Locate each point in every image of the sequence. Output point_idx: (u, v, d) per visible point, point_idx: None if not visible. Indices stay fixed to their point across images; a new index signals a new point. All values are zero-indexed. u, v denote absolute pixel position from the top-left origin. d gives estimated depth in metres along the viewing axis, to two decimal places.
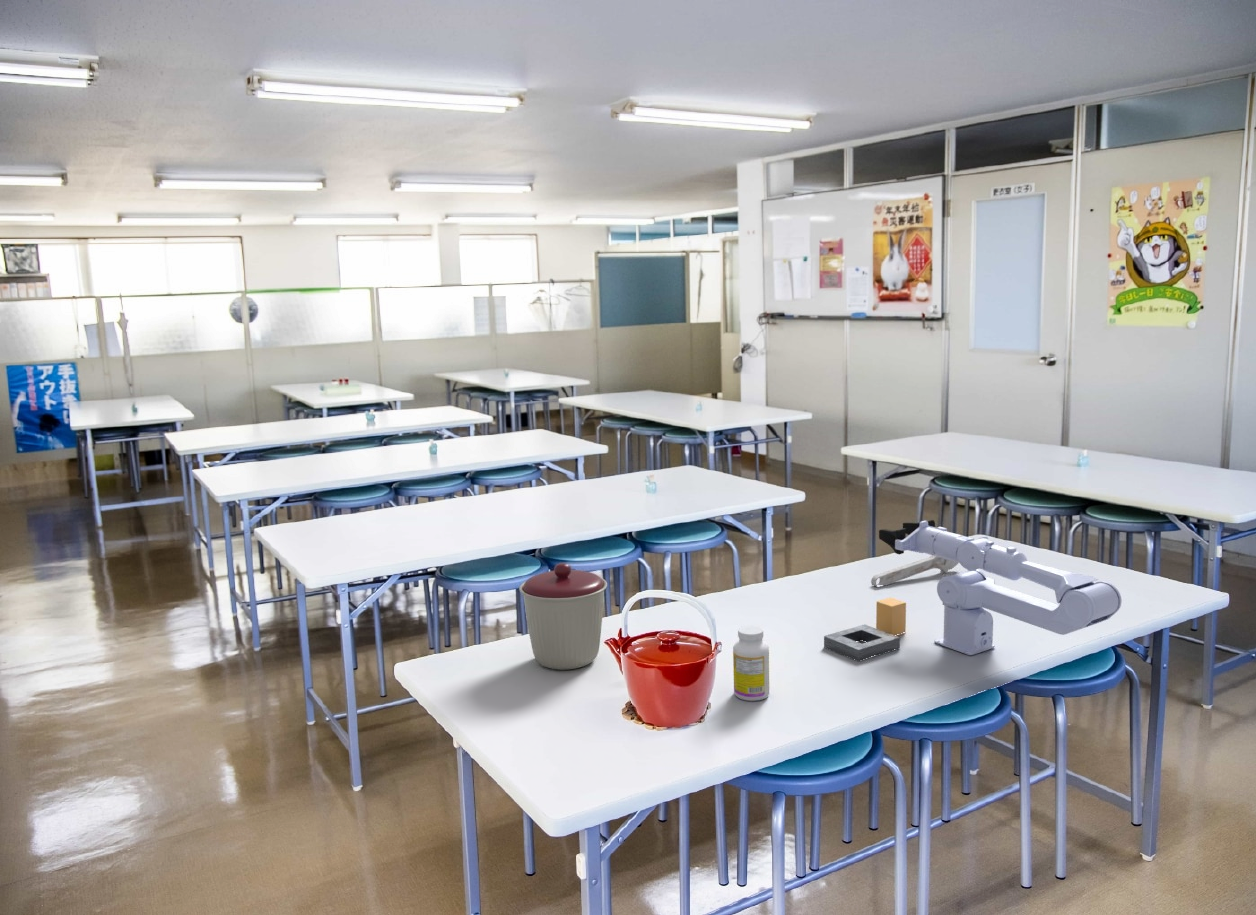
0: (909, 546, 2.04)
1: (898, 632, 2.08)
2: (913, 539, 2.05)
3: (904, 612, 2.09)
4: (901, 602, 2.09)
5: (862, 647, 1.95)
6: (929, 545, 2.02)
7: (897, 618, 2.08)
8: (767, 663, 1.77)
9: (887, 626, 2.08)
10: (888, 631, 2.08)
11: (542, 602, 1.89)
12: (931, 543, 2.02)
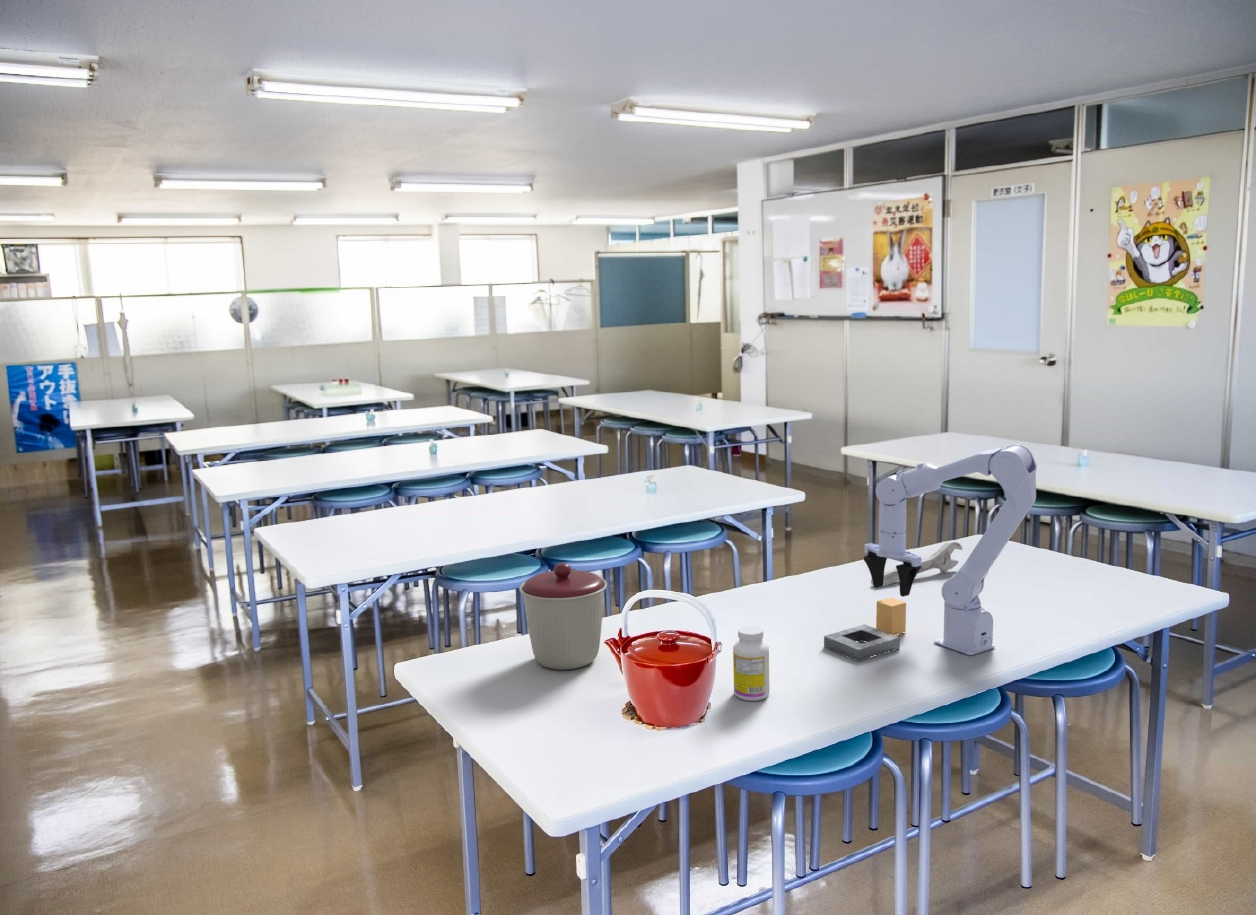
0: None
1: (898, 632, 2.08)
2: (901, 555, 2.04)
3: (904, 612, 2.09)
4: (901, 602, 2.09)
5: (862, 647, 1.95)
6: (902, 536, 2.04)
7: (897, 618, 2.08)
8: (767, 663, 1.77)
9: (887, 626, 2.08)
10: (888, 631, 2.08)
11: (542, 602, 1.89)
12: (900, 535, 2.04)
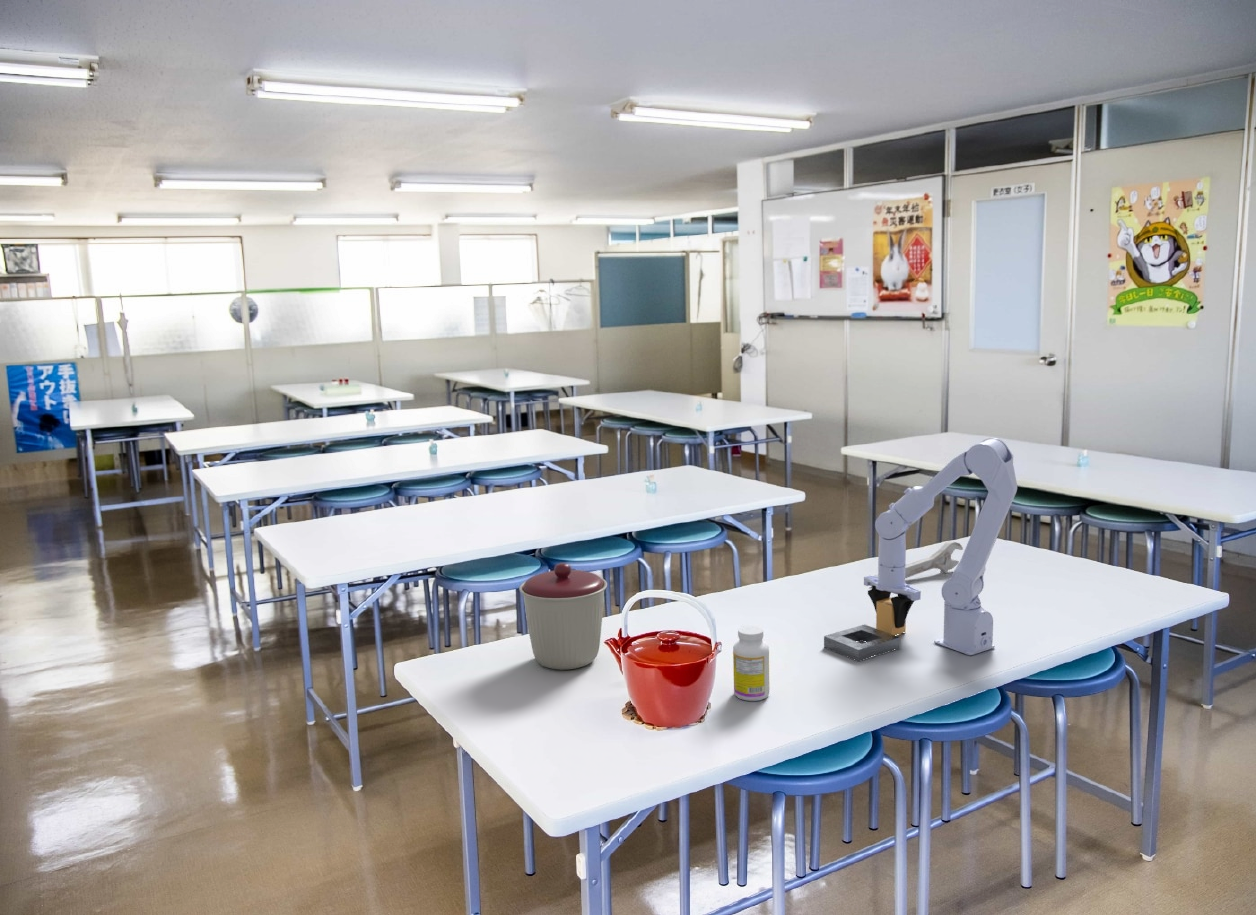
0: (910, 589, 2.05)
1: (898, 632, 2.08)
2: (900, 589, 2.06)
3: None
4: None
5: (862, 647, 1.95)
6: (901, 570, 2.05)
7: None
8: (767, 663, 1.77)
9: (887, 626, 2.08)
10: (888, 631, 2.08)
11: (542, 602, 1.89)
12: (899, 568, 2.05)
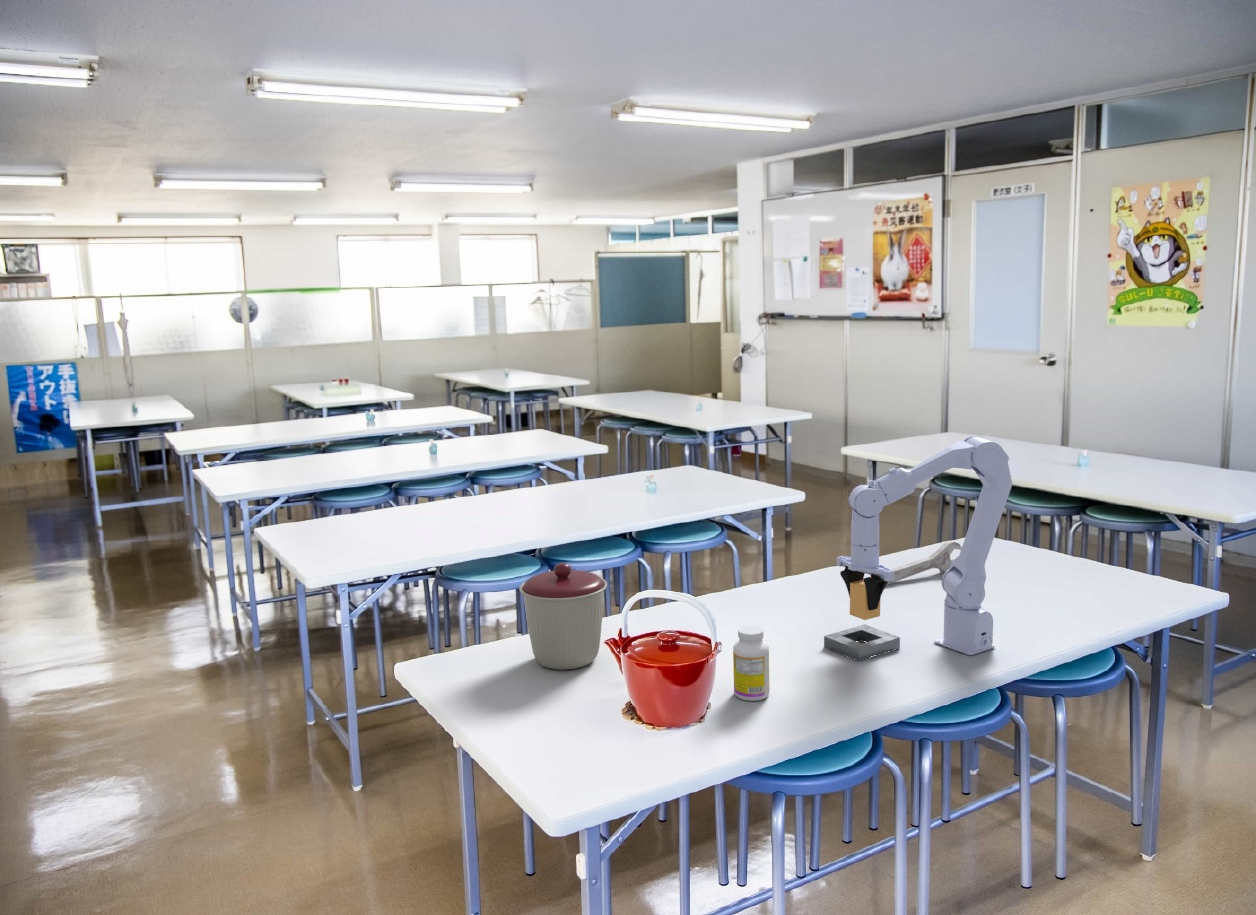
0: (883, 569, 1.96)
1: (872, 615, 1.99)
2: (874, 569, 1.96)
3: None
4: None
5: (862, 647, 1.95)
6: (875, 549, 1.96)
7: None
8: (767, 663, 1.77)
9: (861, 608, 1.99)
10: (862, 613, 1.99)
11: (542, 602, 1.89)
12: (872, 548, 1.96)
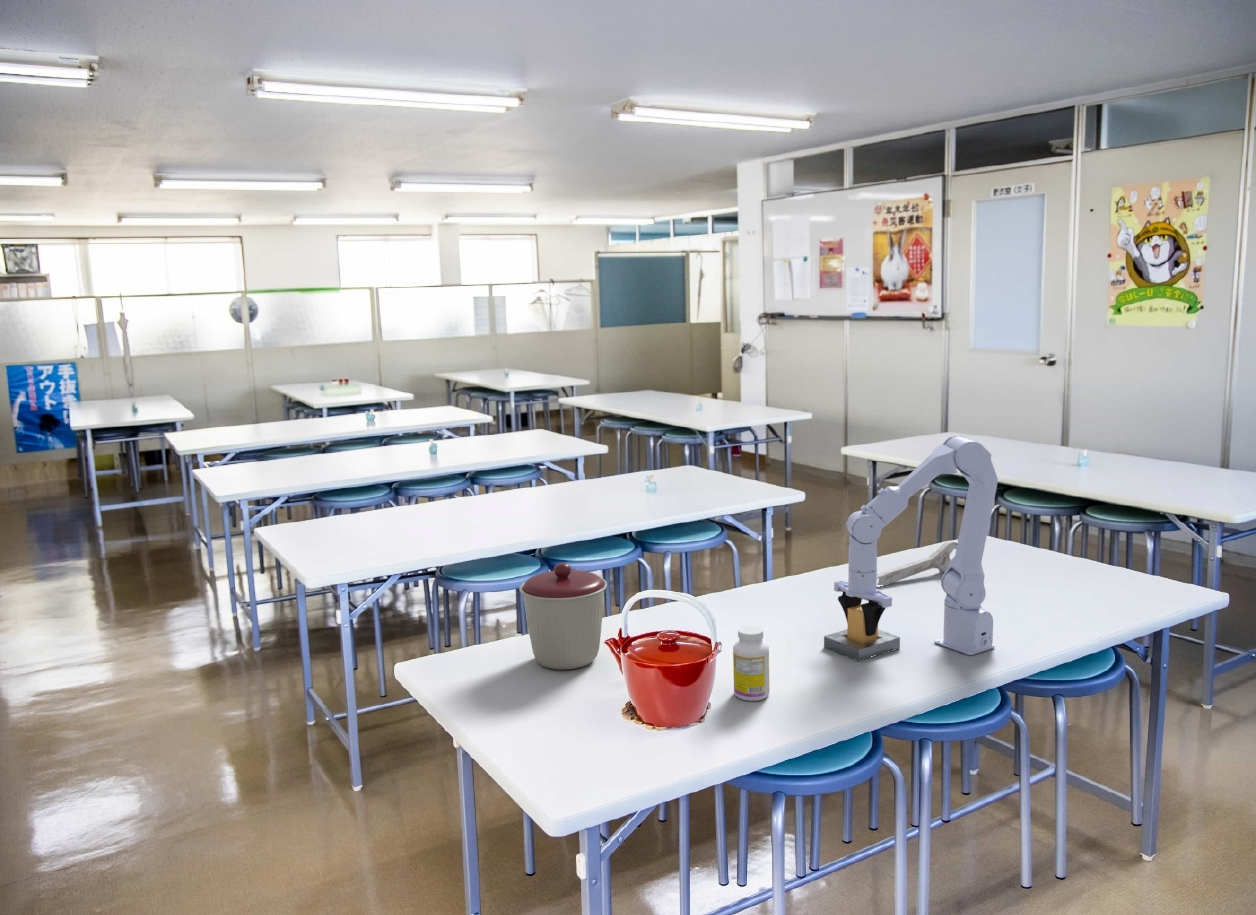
0: None
1: (870, 640, 1.99)
2: (871, 595, 1.96)
3: None
4: None
5: (862, 647, 1.95)
6: (872, 575, 1.96)
7: None
8: (767, 663, 1.77)
9: (859, 634, 1.99)
10: (859, 639, 1.99)
11: (542, 602, 1.89)
12: (870, 574, 1.96)
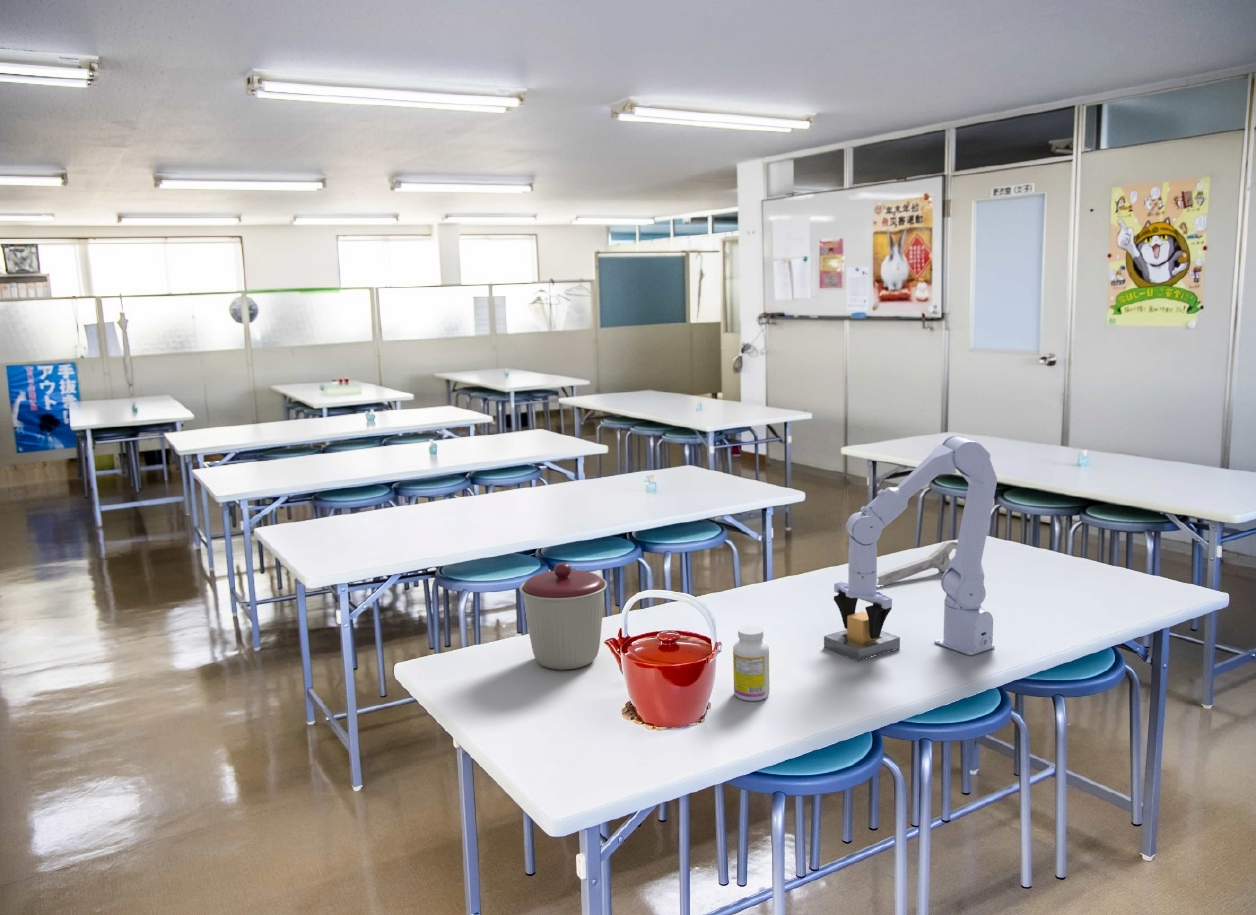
0: (881, 596, 1.96)
1: None
2: (871, 596, 1.97)
3: None
4: None
5: (862, 647, 1.95)
6: (872, 576, 1.96)
7: (868, 633, 1.99)
8: (767, 663, 1.77)
9: (859, 642, 1.99)
10: None
11: (542, 602, 1.89)
12: (870, 575, 1.96)
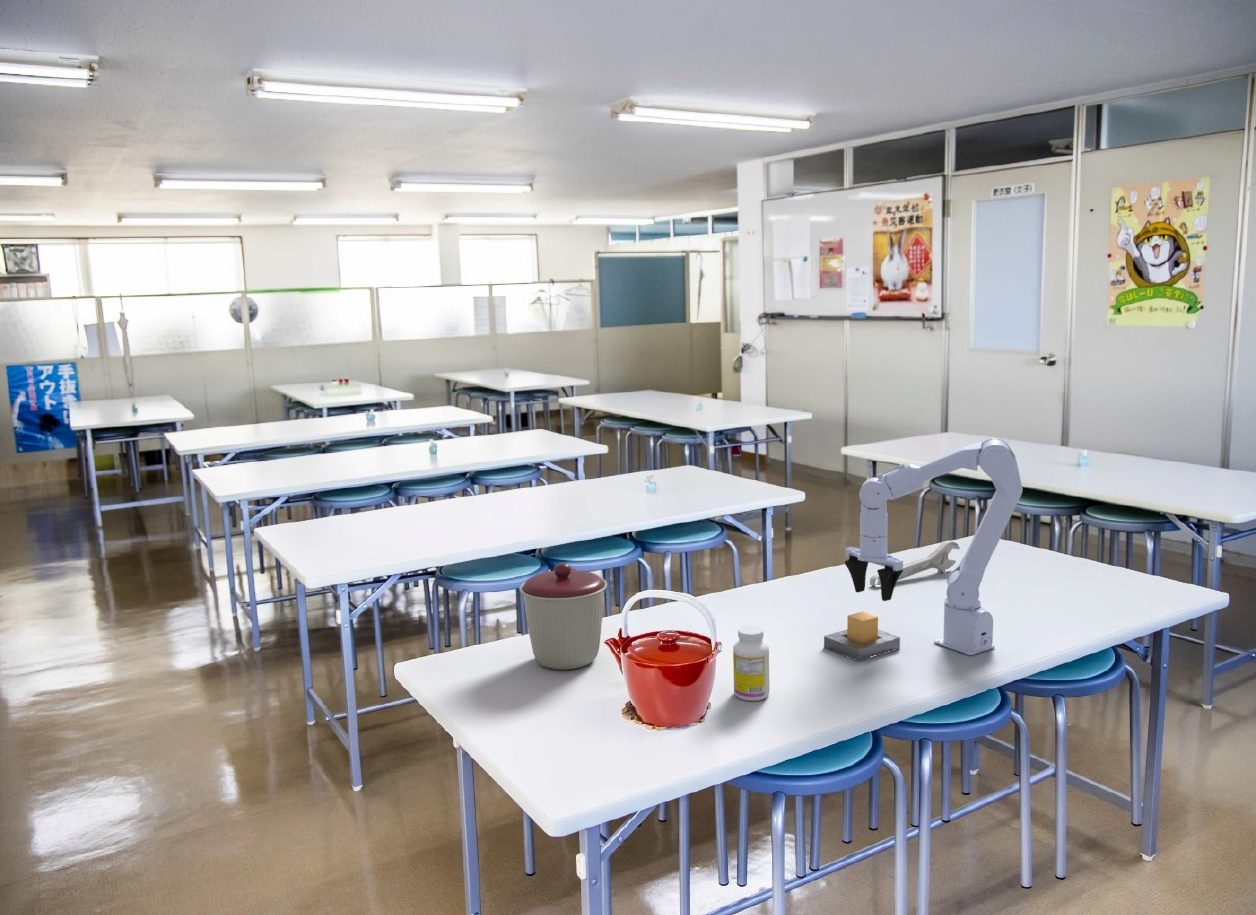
0: (892, 559, 2.01)
1: None
2: (882, 559, 2.02)
3: (876, 627, 2.00)
4: (873, 616, 2.00)
5: (862, 647, 1.95)
6: (883, 540, 2.02)
7: (868, 633, 1.99)
8: (767, 663, 1.77)
9: (859, 642, 1.99)
10: None
11: (542, 602, 1.89)
12: (881, 538, 2.01)
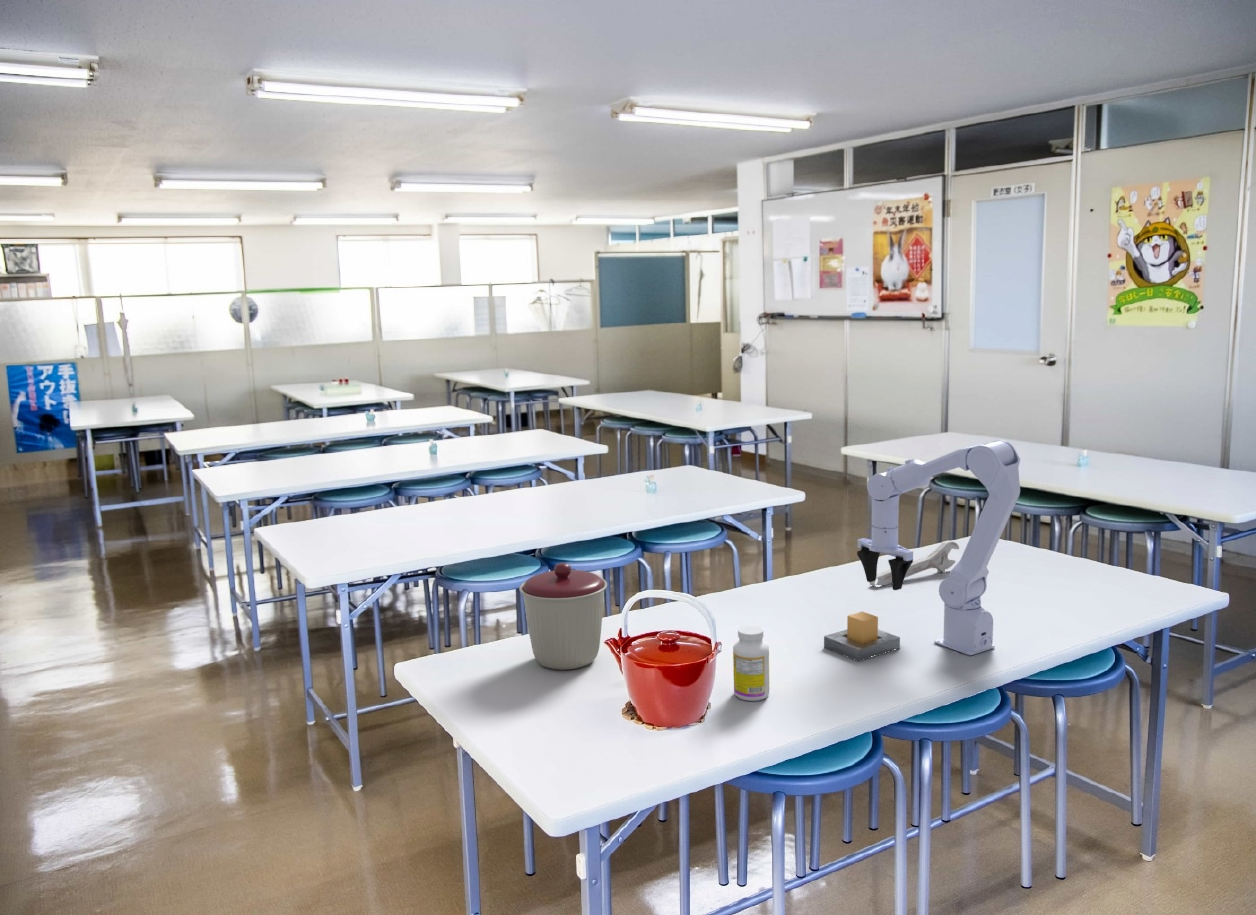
0: (903, 550, 2.08)
1: None
2: (893, 550, 2.09)
3: (876, 627, 2.00)
4: (873, 616, 2.00)
5: (862, 647, 1.95)
6: (894, 531, 2.09)
7: (868, 633, 1.99)
8: (767, 663, 1.77)
9: (859, 642, 1.99)
10: None
11: (542, 602, 1.89)
12: (892, 530, 2.08)
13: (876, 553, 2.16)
